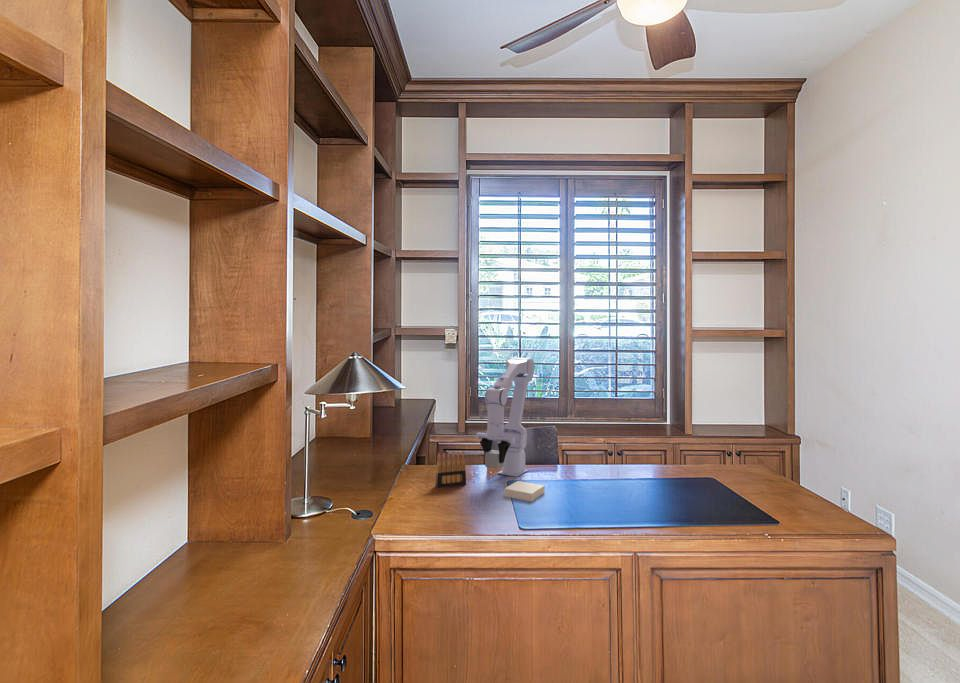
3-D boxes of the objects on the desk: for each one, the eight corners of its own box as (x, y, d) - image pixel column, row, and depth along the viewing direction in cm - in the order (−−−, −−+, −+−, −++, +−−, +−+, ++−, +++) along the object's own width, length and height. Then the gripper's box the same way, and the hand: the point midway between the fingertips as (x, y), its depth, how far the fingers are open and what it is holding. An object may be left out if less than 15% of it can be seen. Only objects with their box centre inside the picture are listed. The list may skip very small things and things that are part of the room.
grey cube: (492, 463, 199) (492, 449, 199) (504, 465, 196) (504, 451, 196) (485, 466, 195) (485, 452, 194) (497, 468, 192) (497, 454, 192)
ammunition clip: (436, 487, 192) (437, 453, 192) (435, 486, 194) (435, 452, 193) (466, 484, 196) (466, 450, 196) (464, 483, 198) (464, 449, 197)
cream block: (517, 489, 193) (517, 480, 193) (544, 494, 188) (544, 485, 188) (504, 497, 184) (504, 488, 184) (531, 502, 179) (531, 493, 179)
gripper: (471, 422, 195) (471, 460, 196) (508, 427, 188) (507, 467, 188) (482, 419, 201) (481, 456, 202) (518, 423, 194) (517, 462, 194)
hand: (495, 461), depth 196 cm, fingers closed on grey cube, 5 cm apart
